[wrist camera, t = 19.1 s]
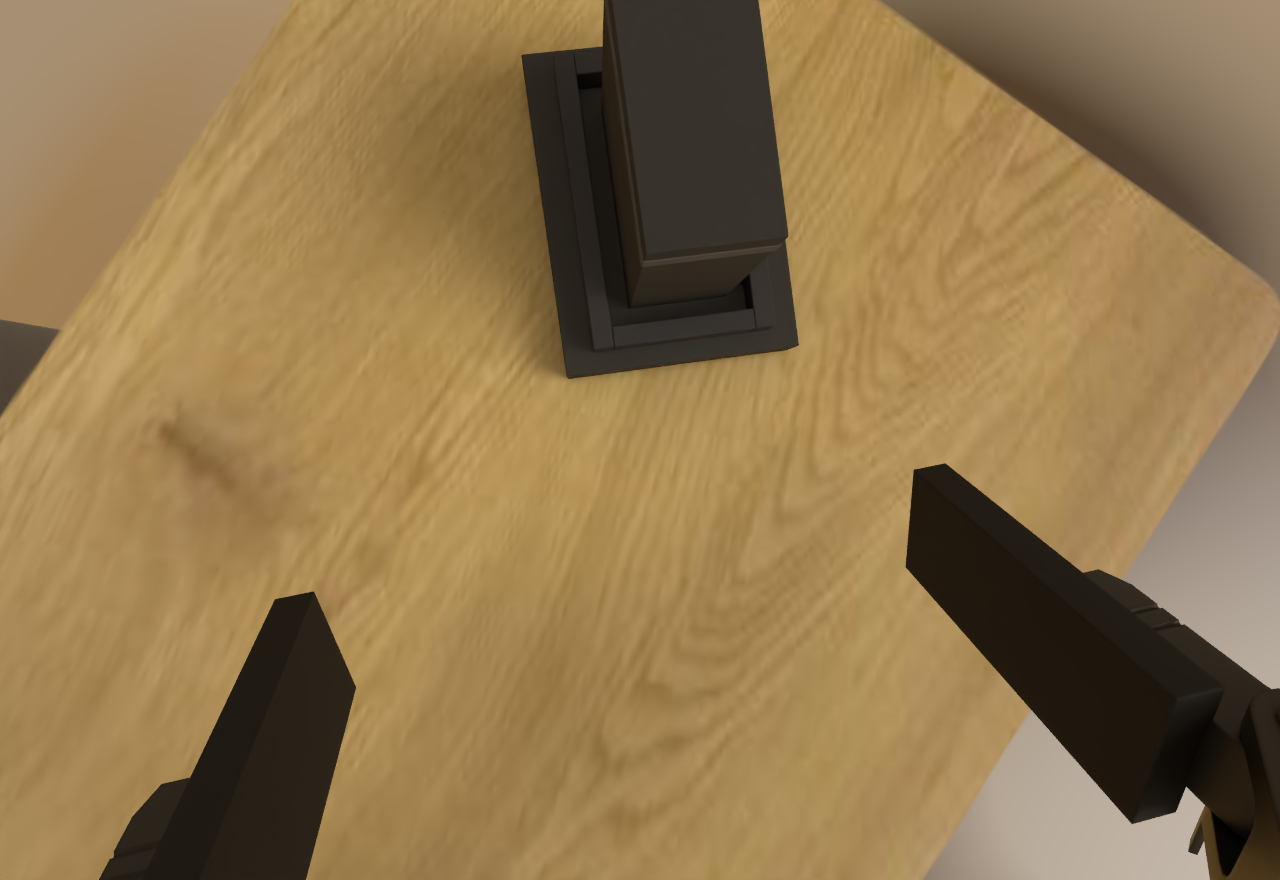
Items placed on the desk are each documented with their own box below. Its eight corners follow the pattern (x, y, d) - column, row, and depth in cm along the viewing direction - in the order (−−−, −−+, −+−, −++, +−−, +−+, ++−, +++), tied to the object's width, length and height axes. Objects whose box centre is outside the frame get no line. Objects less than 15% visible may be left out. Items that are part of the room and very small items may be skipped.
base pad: (568, 378, 35) (565, 374, 32) (525, 75, 35) (517, 36, 31) (787, 349, 36) (808, 342, 33) (749, 52, 36) (766, 11, 32)
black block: (627, 310, 33) (644, 255, 22) (599, 108, 33) (603, -48, 22) (726, 297, 34) (790, 238, 23) (700, 97, 33) (752, -61, 22)
